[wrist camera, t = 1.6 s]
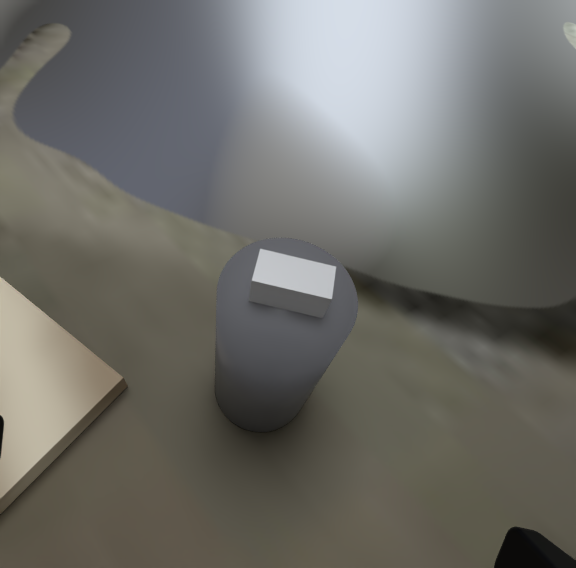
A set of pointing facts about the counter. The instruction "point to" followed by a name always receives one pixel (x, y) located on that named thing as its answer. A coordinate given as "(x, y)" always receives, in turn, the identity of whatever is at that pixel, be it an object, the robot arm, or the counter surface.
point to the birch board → (43, 391)
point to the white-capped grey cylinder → (278, 329)
